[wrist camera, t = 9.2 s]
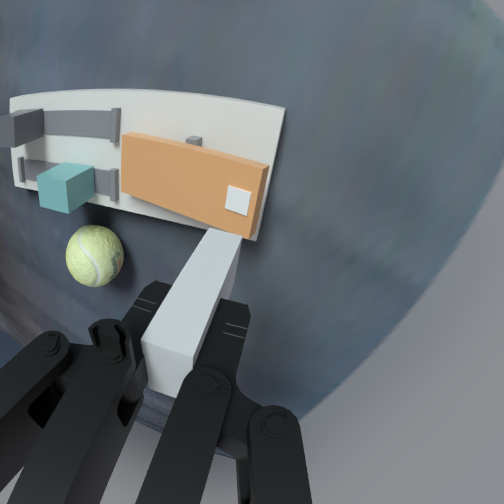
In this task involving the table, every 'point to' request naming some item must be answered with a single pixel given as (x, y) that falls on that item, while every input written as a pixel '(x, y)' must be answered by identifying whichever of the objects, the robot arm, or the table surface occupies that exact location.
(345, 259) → the table surface
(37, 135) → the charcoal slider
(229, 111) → the panel
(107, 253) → the tennis ball
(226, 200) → the tan block
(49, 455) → the robot arm
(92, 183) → the teal slider
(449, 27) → the table surface
